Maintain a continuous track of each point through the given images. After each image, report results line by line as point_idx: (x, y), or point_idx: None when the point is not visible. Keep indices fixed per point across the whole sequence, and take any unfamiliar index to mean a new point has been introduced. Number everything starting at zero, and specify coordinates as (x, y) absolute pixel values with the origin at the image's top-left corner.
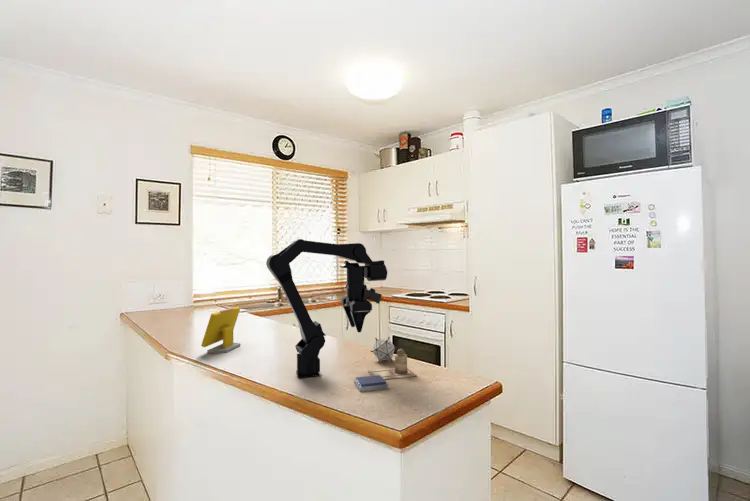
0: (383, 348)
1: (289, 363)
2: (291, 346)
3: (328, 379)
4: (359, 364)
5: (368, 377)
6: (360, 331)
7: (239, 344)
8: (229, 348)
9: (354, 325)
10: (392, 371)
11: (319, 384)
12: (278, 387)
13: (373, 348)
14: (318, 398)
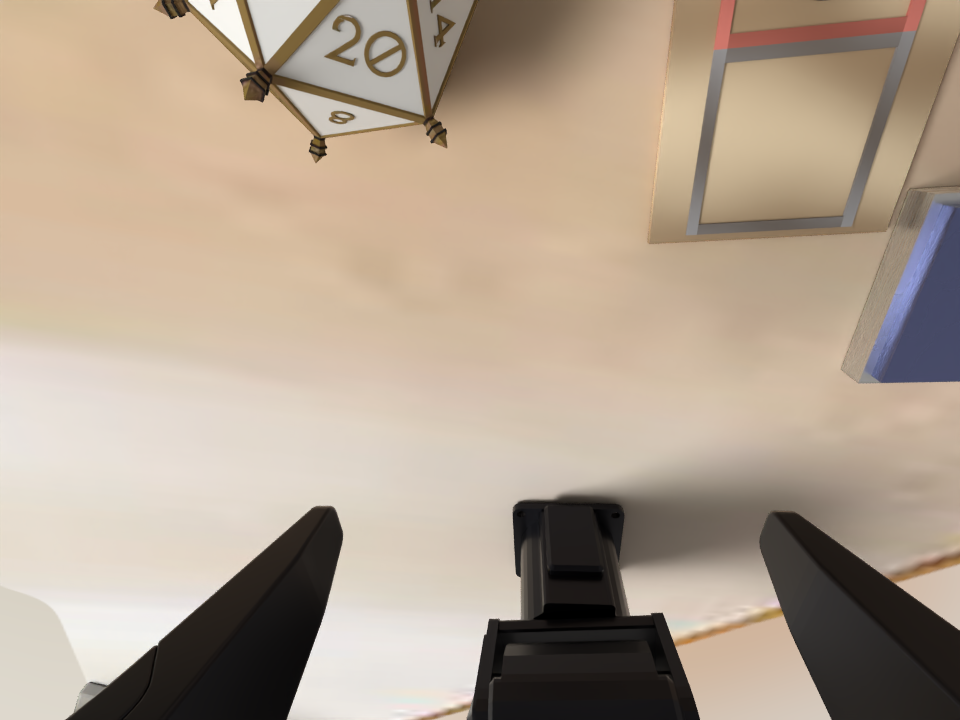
0: (444, 13)
1: (365, 577)
2: (44, 549)
3: (689, 472)
4: (447, 265)
5: (945, 306)
6: (796, 525)
7: (91, 692)
8: None
9: (326, 523)
10: (772, 18)
11: (744, 513)
12: (695, 625)
13: (312, 127)
14: (933, 535)
